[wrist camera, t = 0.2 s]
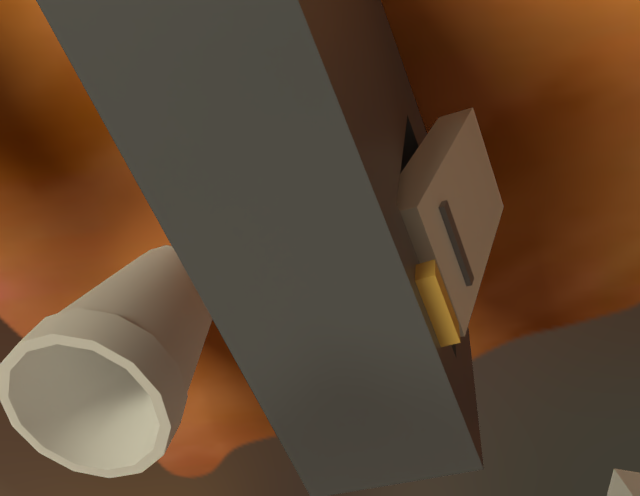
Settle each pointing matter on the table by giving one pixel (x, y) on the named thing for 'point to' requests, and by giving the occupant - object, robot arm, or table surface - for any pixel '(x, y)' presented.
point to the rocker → (452, 206)
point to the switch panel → (292, 217)
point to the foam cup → (110, 369)
